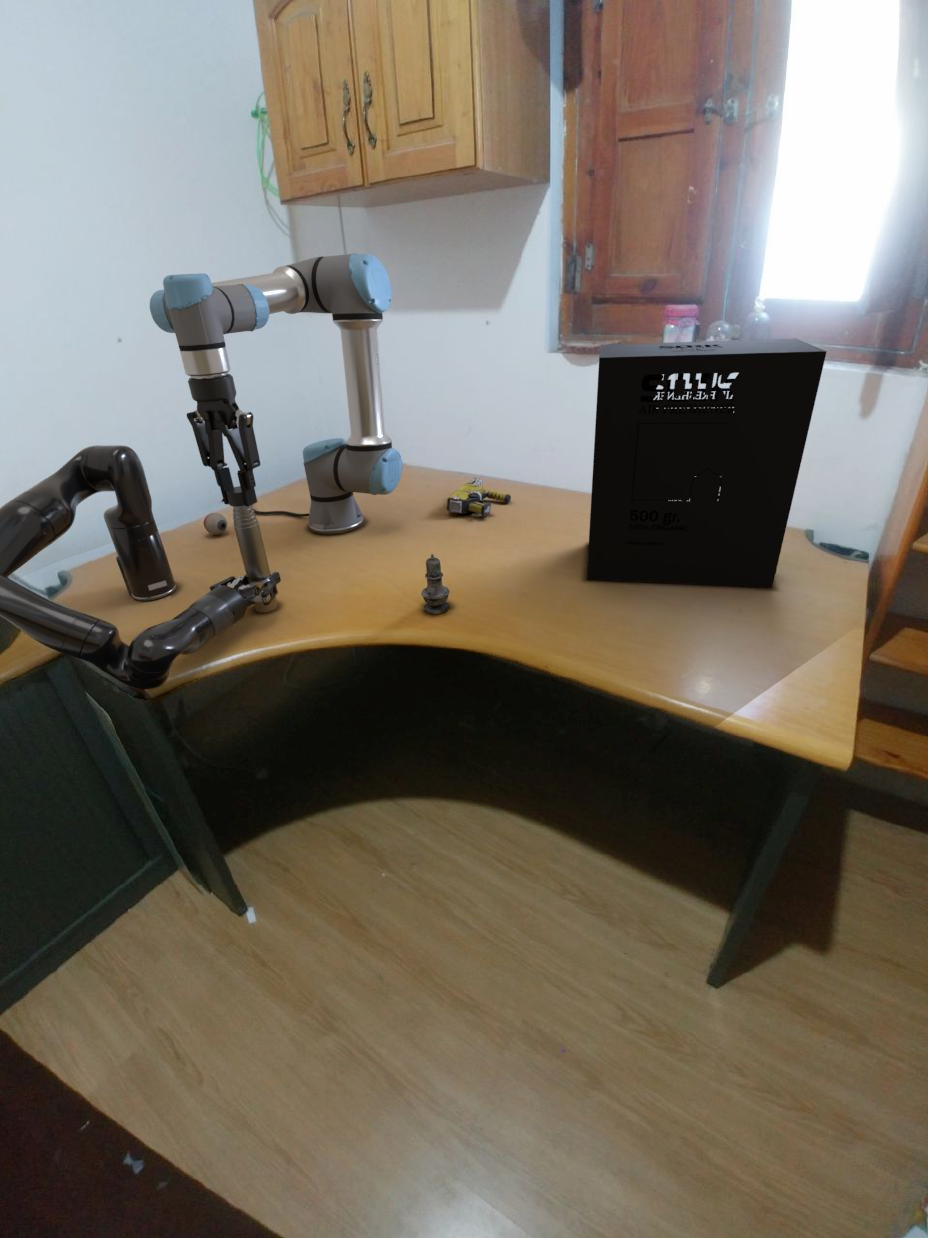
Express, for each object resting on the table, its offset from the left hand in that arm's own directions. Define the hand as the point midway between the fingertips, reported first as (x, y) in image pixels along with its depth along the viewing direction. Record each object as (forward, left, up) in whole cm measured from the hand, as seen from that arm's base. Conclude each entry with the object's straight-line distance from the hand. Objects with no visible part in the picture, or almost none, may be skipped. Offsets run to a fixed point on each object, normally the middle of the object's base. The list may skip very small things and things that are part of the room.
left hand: (267, 574), depth 128 cm
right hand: (0, -3, +17) cm, 17 cm away
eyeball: (-39, +31, -6) cm, 50 cm away
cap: (0, -3, +17) cm, 17 cm away
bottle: (0, -3, -6) cm, 7 cm away
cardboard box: (+81, +38, -6) cm, 90 cm away
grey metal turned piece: (+36, +6, -6) cm, 37 cm away
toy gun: (+26, +68, -6) cm, 73 cm away
